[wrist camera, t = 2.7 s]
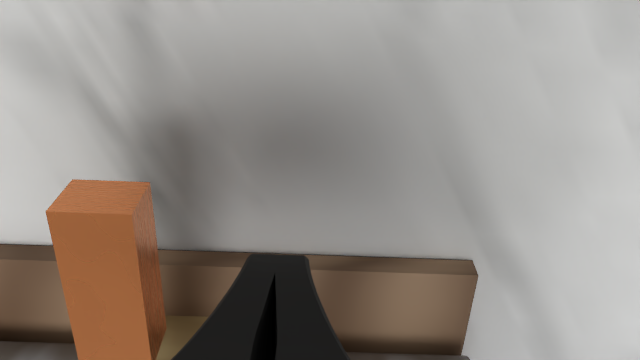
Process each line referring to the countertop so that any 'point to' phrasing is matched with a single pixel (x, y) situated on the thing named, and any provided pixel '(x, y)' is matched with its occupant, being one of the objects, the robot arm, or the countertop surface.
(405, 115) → the countertop surface
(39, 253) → the valve board
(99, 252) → the valve lever
